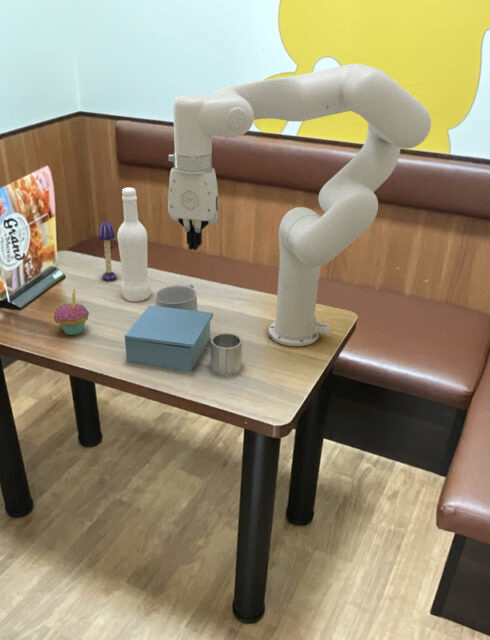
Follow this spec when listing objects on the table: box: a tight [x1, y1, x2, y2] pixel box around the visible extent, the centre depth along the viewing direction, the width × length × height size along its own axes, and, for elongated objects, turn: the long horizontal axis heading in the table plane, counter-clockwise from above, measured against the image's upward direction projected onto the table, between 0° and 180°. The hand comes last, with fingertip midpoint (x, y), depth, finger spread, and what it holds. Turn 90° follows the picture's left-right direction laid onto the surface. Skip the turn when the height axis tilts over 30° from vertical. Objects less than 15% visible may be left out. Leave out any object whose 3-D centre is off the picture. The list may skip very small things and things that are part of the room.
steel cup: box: [210, 332, 243, 375], centre depth 137 cm, size 7×7×8 cm
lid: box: [124, 305, 214, 348], centre depth 141 cm, size 16×16×1 cm
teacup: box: [154, 282, 198, 311], centre depth 157 cm, size 14×11×8 cm
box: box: [124, 321, 211, 373], centre depth 144 cm, size 16×16×7 cm
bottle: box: [117, 186, 152, 303], centre depth 162 cm, size 8×8×30 cm
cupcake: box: [53, 288, 90, 336], centre depth 151 cm, size 9×8×12 cm
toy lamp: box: [98, 221, 118, 282], centre depth 176 cm, size 5×5×17 cm
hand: (194, 247), depth 134 cm, fingers closed
